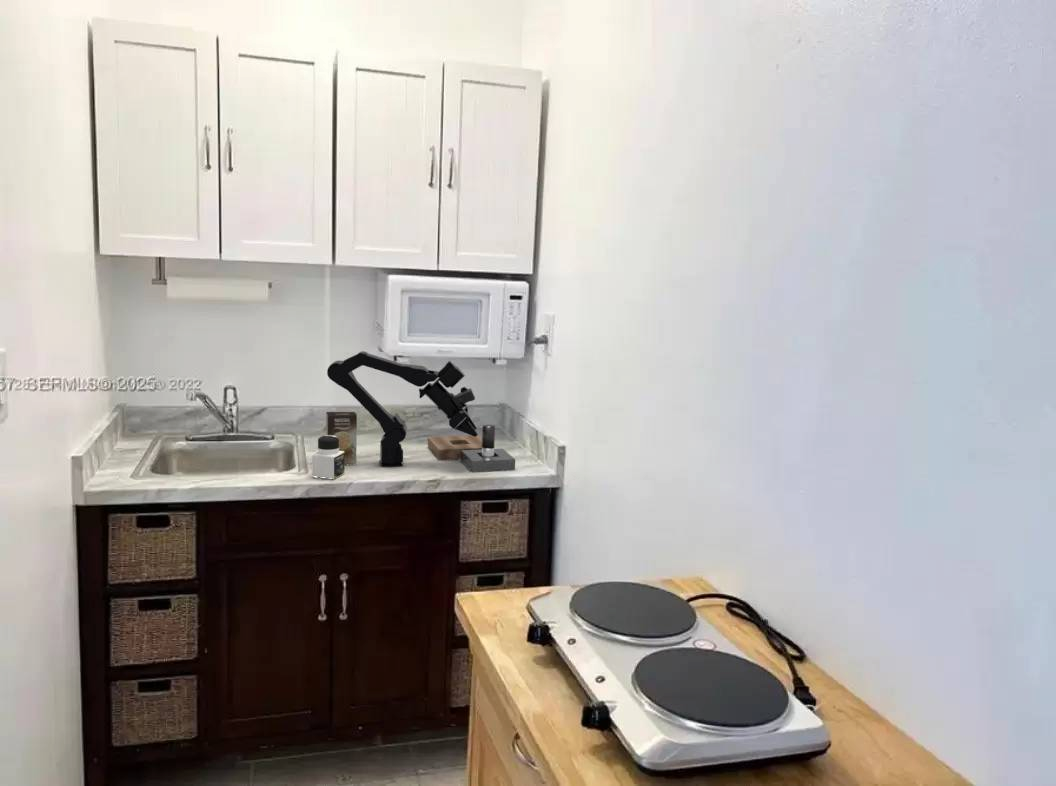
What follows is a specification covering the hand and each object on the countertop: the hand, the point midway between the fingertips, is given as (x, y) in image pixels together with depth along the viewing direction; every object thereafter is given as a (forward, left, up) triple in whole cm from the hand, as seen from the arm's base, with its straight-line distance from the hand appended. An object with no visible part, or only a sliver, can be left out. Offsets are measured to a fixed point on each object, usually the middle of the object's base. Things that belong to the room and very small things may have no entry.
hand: (476, 432), depth 254 cm
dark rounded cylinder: (+4, -1, -11) cm, 11 cm away
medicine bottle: (-46, -4, -11) cm, 48 cm away
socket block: (+4, -1, -11) cm, 11 cm away
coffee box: (-41, +10, -11) cm, 44 cm away
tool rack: (-1, +17, -11) cm, 20 cm away
